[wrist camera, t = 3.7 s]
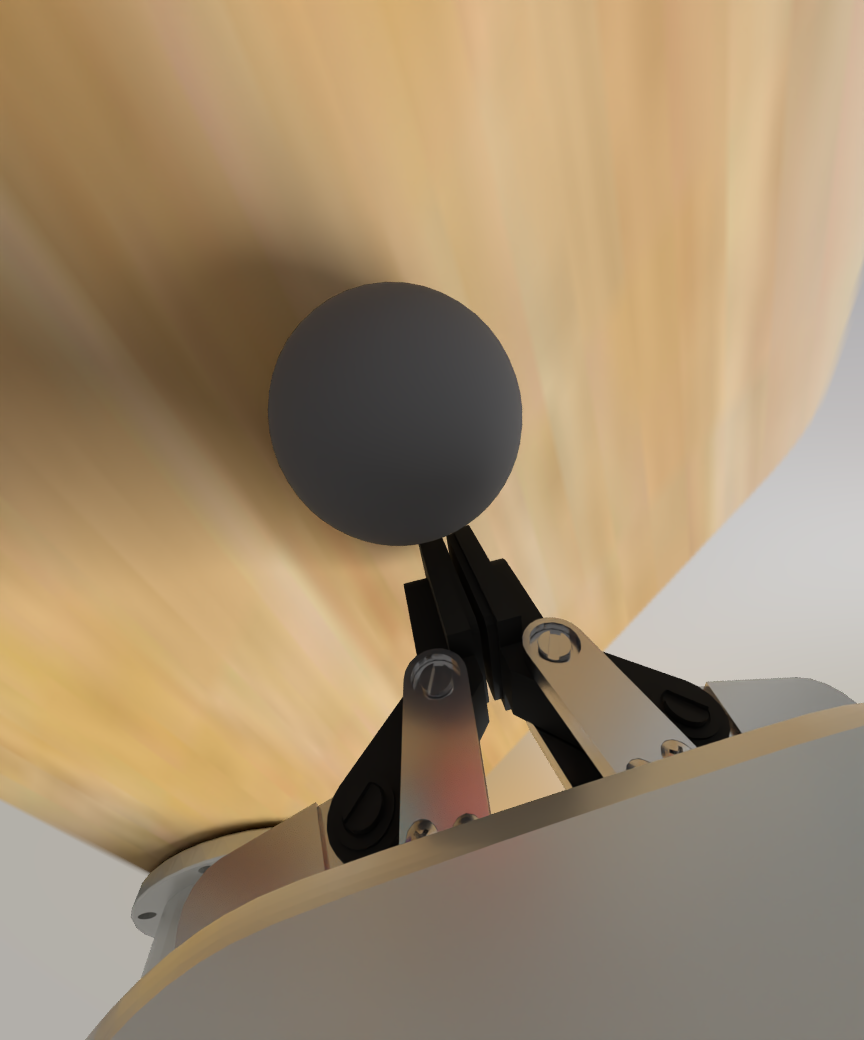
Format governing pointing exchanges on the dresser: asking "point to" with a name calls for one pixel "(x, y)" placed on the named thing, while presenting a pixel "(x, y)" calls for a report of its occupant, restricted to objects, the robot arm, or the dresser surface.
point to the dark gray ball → (395, 413)
